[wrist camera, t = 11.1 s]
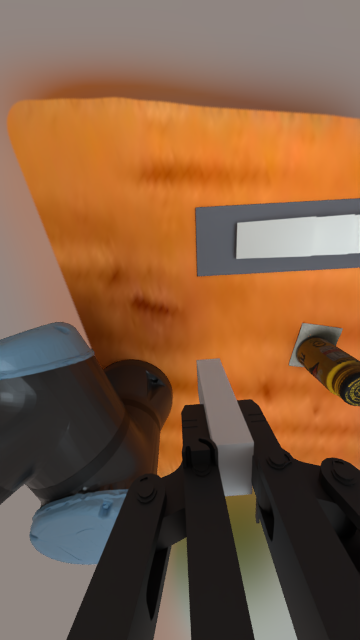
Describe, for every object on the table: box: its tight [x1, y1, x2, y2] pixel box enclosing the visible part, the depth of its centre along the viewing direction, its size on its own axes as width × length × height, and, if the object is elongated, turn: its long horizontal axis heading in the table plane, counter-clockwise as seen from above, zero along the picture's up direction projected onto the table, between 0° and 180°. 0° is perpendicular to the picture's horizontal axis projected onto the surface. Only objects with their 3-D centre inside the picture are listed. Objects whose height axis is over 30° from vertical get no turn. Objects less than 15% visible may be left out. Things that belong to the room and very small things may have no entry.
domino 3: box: [348, 215, 360, 253], centre depth 32 cm, size 2×5×10 cm
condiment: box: [289, 323, 360, 406], centre depth 35 cm, size 7×8×12 cm
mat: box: [196, 198, 360, 276], centre depth 34 cm, size 32×10×1 cm, turn 93°
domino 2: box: [312, 214, 355, 255], centre depth 32 cm, size 2×5×10 cm
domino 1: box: [236, 216, 316, 259], centre depth 32 cm, size 2×5×10 cm
